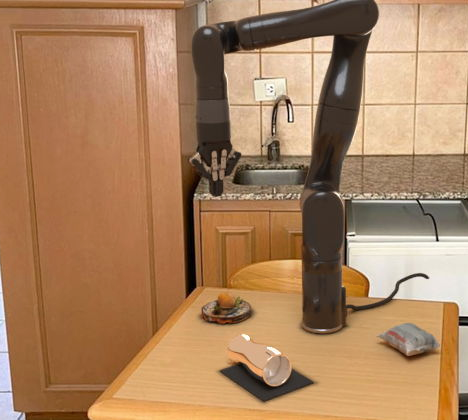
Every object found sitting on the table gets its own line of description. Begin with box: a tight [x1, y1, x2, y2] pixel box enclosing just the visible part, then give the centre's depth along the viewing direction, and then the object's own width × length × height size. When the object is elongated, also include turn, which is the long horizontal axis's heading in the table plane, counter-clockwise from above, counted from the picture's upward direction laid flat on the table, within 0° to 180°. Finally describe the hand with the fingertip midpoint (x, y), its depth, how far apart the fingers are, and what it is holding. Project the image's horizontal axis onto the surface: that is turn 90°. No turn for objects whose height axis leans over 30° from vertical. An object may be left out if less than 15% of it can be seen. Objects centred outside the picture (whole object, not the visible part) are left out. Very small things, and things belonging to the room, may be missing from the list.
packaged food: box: [376, 322, 441, 357], centre depth 174 cm, size 9×12×5 cm
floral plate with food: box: [201, 291, 253, 324], centre depth 193 cm, size 12×12×8 cm
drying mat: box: [219, 363, 315, 403], centre depth 163 cm, size 16×12×1 cm
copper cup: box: [227, 333, 293, 387], centre depth 163 cm, size 7×7×15 cm
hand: (216, 195), depth 180 cm, fingers closed
